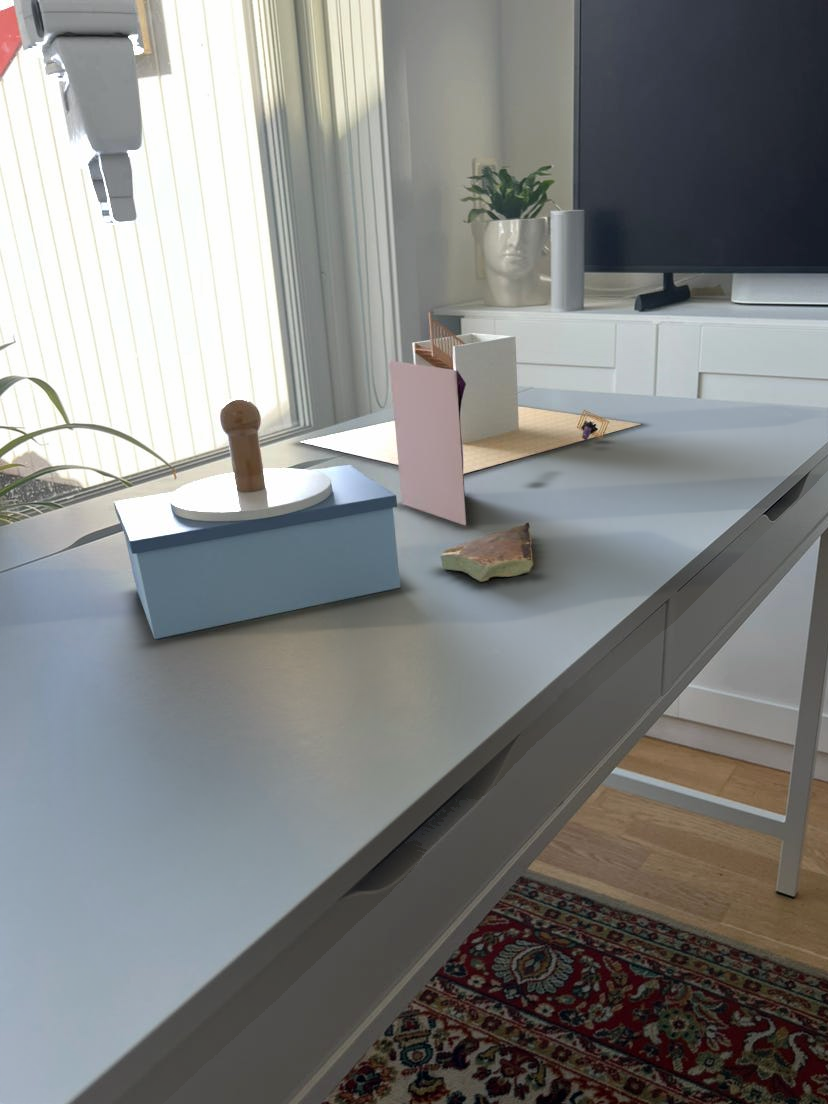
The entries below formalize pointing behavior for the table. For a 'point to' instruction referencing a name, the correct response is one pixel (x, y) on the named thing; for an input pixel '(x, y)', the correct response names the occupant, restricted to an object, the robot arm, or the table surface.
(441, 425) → the greeting card
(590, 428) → the framed picture
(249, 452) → the peg on round base
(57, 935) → the table surface
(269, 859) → the table surface
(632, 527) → the table surface
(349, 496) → the storage container
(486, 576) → the shard
